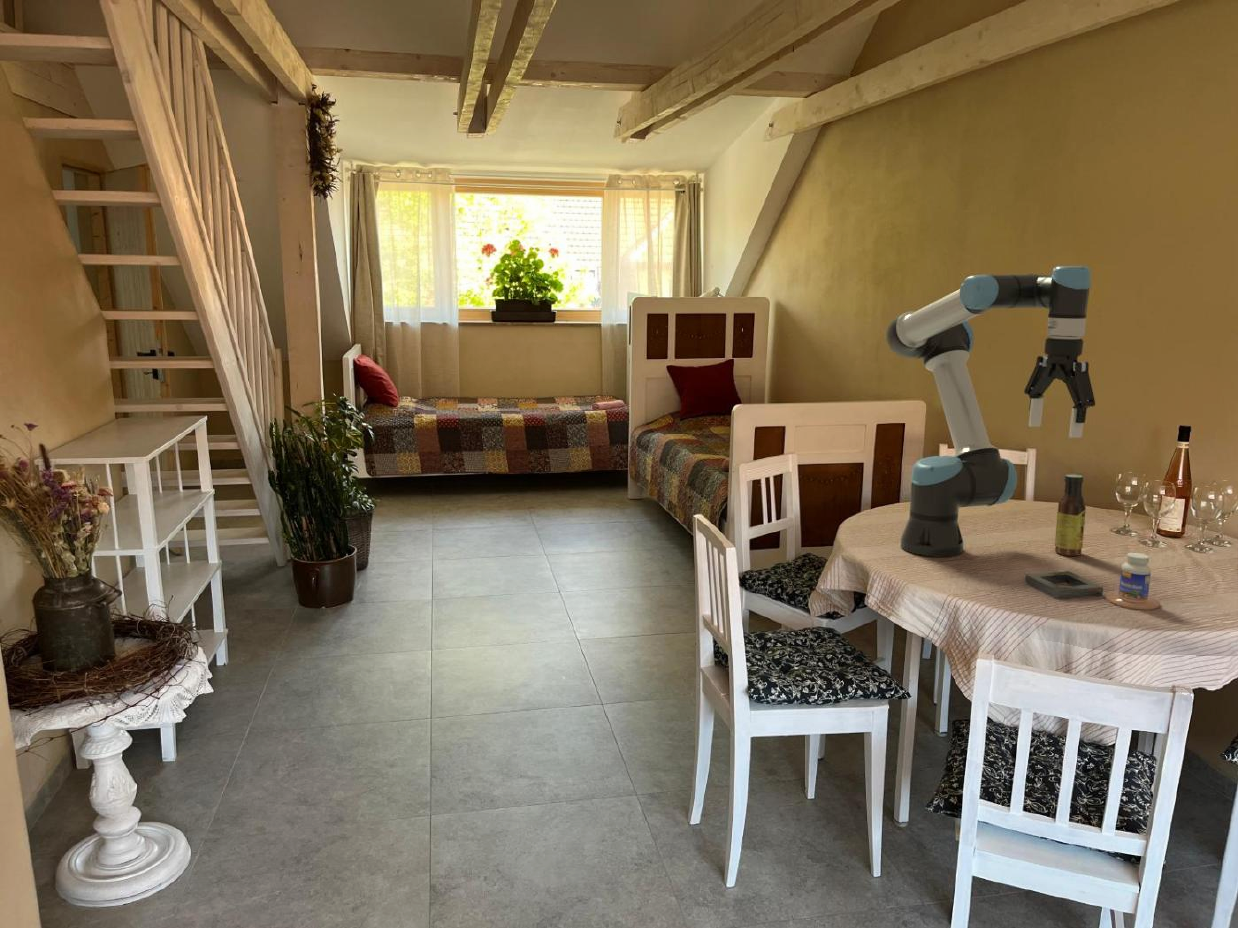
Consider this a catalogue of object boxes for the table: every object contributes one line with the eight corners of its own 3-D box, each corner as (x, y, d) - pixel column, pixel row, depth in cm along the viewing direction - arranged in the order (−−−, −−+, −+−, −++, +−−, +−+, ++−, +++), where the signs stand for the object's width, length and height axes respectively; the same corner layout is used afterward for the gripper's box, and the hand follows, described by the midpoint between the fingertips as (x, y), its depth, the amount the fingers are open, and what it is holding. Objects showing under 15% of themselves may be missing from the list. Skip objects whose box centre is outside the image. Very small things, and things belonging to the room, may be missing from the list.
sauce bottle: (1084, 557, 218) (1093, 479, 214) (1057, 556, 220) (1065, 478, 216) (1077, 549, 225) (1084, 473, 221) (1050, 548, 226) (1057, 472, 222)
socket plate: (1024, 582, 201) (1025, 574, 200) (1067, 579, 203) (1068, 571, 202) (1057, 599, 190) (1058, 590, 190) (1102, 595, 192) (1103, 586, 192)
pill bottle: (1114, 599, 188) (1119, 555, 186) (1122, 592, 192) (1127, 549, 190) (1142, 605, 185) (1148, 560, 183) (1150, 598, 188) (1155, 555, 186)
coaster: (1094, 595, 192) (1094, 592, 192) (1134, 591, 194) (1134, 589, 194) (1129, 611, 183) (1129, 609, 183) (1170, 608, 185) (1171, 605, 185)
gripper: (1013, 333, 207) (1005, 422, 212) (1090, 342, 183) (1078, 443, 188) (1042, 332, 208) (1032, 421, 213) (1121, 341, 185) (1109, 441, 189)
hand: (1054, 431), depth 200 cm, fingers open, 13 cm apart
